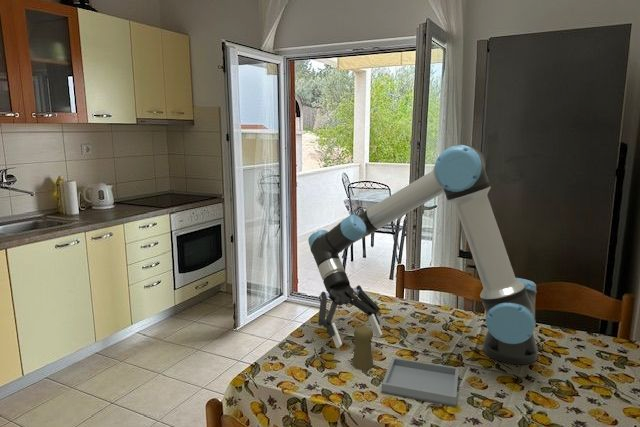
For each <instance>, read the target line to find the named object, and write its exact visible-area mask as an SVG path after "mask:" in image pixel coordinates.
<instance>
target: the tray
mask: <svg viewBox="0 0 640 427" xmlns="http://www.w3.org/2000/svg"><path fill="white" fill-rule="evenodd" d="M459 370H460V368H459V367H457V366H456V367H455V366H452V365H451V366H450V365H443V364H438V363H434V362H433V363H432V362H425V361H419V360H413V359H407V358H401V357H395V356H392V357H391V359H390V362H389V366H388V367H387V370H386V372H385V374H384V377H383V380H382V382H381V394H385V395H391V396H394V397H395V396H396V397H401V398H405V399H406V398H407V399H412V400H417V401H423V402H428V403H433V404H439V405H443V406H447V407H448V406H449V407H453V408H456V407H457V397H458V384H459Z"/></svg>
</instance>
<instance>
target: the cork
mask: <svg viewBox="0 0 640 427" xmlns="http://www.w3.org/2000/svg"><path fill="white" fill-rule="evenodd" d="M353 331H354V332H353V336H354V339H355V342H354V344H355V345H354V350H353V356H352V357H353V358H352V363H351V364H352V368H355V369H357V370H360V371H367V370H368V371H369V370H371V369H372V368H374V359H373V351H372V350H373V349H372V342H371V341H372V338H373V333H374V332H373V329H371V328H370V327H368V326H358V327H356V328H355V330H353Z"/></svg>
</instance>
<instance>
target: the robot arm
mask: <svg viewBox="0 0 640 427" xmlns="http://www.w3.org/2000/svg"><path fill="white" fill-rule="evenodd" d="M486 161H487V160H486V158H485V155H484V154H483V153H482V152H481V151H480V150H479V149H478V148H477V147H475V146H472V145H468V144H467V145H464V144H456V145H452V146H450V147H448V148H446V149H444V150H443V151H442V152H441V153H440V154H439V156H438V157H437V159H436V161H435V164H434V166H433V169H432V170H431V171H429V172H428V173H426V174H424V175H423V176H420V177H419V178H418V179H416V180H415V181H412V182H411V183H409V184H407V185H406V186H404V187H402V188H401V189H399V190H398V191H396V192H394V193H392V194H391V195H389V196H388V197H386V198H384V199H382V200H381V201H380V202H377V203H375V204H374V205H372V206H371V207H369V208H367V209H366V210H364V211H362V212H360V213H359V214H357V215H356V214H354V213H353V214H350V215H348V216H347V217H345V218H343V219H342V220H341V221H340V222H339V223H337V224H336V225H335V226H334V227H332V228H331V229H330V230H329V231H327V230H326V229H320V230H317V231H316V232H313V233H311V234H310V236H309V237H308V240H307V242H308V245H309V248H310V252H311V254H312V256H313V258H314V261H315V263H316V266H317V270H318V272H319V274H320V277H321V280H322V282H323V285H324V288H325V290H326V292H325V291H322V292H321V293H320V294H319V296H318V299H319V302H320V304H319V313H318V321H317V325H318V326H319V327H321V326H322V327H323V328H325V329H326V331H327V333H328V334H327V335H328V336H329V337H330V338H331V337H332V340H333V342H334V346H335V348H336V349H339V348H340V347H341V346H343V342H342V340H341V336H340V335H339V332H338V328H337V326H336V323H335V322H332V320H333V318H334V316H335V313H336V310H337V307H338V306H339V307H340V306H343V305H352V306H354V307H356V308H357V309H359V310H360V311H362V312H363V313H364V314H365V315H367V316H368V318H367V319H368V322H369V324H370V326H371V328H372V329H371V330H372V332H373V333H374V335H375V338H376V339H379V338H380V337H382V336H383V332H382V330H381V327H380V320H379V318H378V315H377V314H378V312H380V311H381V308H380V306H378V305H377V303H376V302H374V300H373V299H372V298H370V296H369V295H368V294H366V292H364V289H362V287H361V285H359V284H358V285H357V286H356V287H352V286H351V284H350V280H349V278H348V276H347V272H346V271H345V268H344V267H345V266H344V265H343V263H342V261H341V258H340V256H339V254H340V253H342V252H343V251H344V250H345V249H347V248H349V247H350V246H351V245H353V244H354V243H356V242H358V241H359V240H362V239H363V238H365V237H368V236H371V234H372V233H374V232H376V231H379V230H380V229H381V228H383V227H385V226H387V225H388V224H390V223H392V222H394V221H396V220H398V219H399V218H401V217H404V216H405V215H407V214H408V213H410V212H412V211H414V210H415V209H417V208H418V207H420V206H423V205H424V204H425V203H428V202H430V201H432V200H433V199H435V198H437V197H438V196H441V195H442V194H444V195H445V197H446V199H447V202H449V203H451V204H453V205H454V206H455V209H456V211H457V215H458V217H459V220H460V223H461V227H462V229H463V232H464V235H465V237H466V242H467V244H468V247H469V250H470V253H471V256H472V258H473V261H474V265H475V268H476V270H477V273H478V275H479V279H480V283H481V284H482V287H483V289H482V290H481V292H480V294H479V296H480V300H481V302H482V305H483V308H484V311H485V314H486V315H485V324H486V329H487V333H486V335H485V337H484V339H483V342H482V344H483V345H482V350H483V352H484V353H485V354H486V355H487V356H488V357H490V358H492V359H494V360H496V361H499V362H503V363H504V364H505V363H506V364H510V365H529V364H532V363H535V362H536V361H537V360H538V353H539V352H538V351H539V350H538V346H537V343H536V339H535V338H536V337H535V335H534V332H535V329H536V325H537V321H536V294H537V284H536V283H535V282H534V281H532V280H529V279H525V278H521V277H520V278H519V277H516V276H515V272H514V269H513V267H512V263H511V261H510V257H509V255H508V252H507V249H506V246H505V243H504V240H503V238H502V237H503V236H502V235H501V232H500V228H499V226H498V222H497V220H496V217H495V215H494V211H493V208H492V205H491V201H490V200H489V197H488V193H489V191H490V190H491V188H492V187H491V183H490V181H489V178H488V174H487V172H486V167H487V162H486ZM328 299H329V300H331V304H330V308H329V311H328V313H327V311H326V310H327V302H328ZM326 313H327V314H326ZM326 315H327V316H326Z"/></svg>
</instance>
